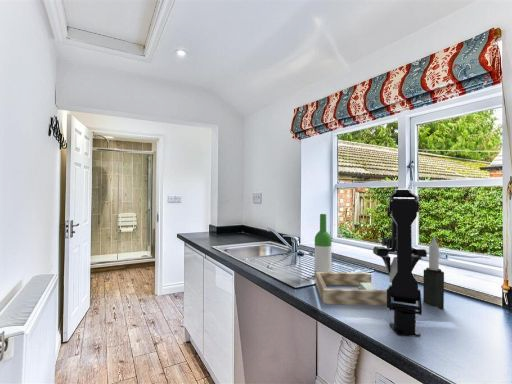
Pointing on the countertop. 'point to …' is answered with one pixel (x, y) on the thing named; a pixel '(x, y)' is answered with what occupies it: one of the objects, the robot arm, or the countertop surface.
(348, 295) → the beige shallow tray
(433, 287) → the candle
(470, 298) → the countertop surface
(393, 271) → the white printed packet
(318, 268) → the wine bottle
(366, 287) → the offcut top
